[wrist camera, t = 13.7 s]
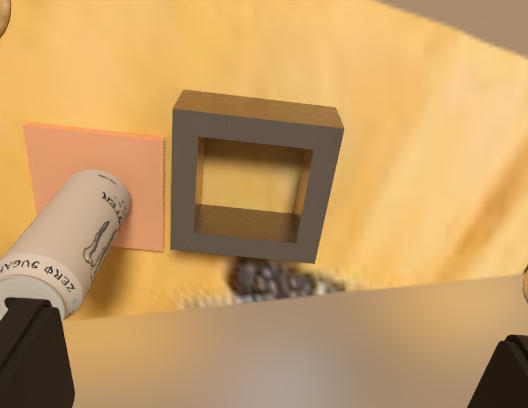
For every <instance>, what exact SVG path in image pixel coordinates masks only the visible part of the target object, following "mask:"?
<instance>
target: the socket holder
mask: <svg viewBox="0 0 528 408" xmlns="http://www.w3.org/2000/svg"><path fill="white" fill-rule="evenodd" d="M343 133H344V126H343V124H342V122H341V119H340V117H339V114H338V112H337V110H336V108H334V107H326V106H317V105H309V104H300V103H292V102H283V101H275V100H266V99H258V98H249V97H241V96H233V95H224V94H216V93H207V92H199V91H190V90H183V91H182V93H181V95H180V97H179V99H178V100H177V102H176V104H175V106H174V107H173V125H172V184H171V244H170V250H179V251H190V252H200V253H210V254H220V255H230V256H241V257H251V258H261V259H271V260H281V261H292V262H302V263H312V264H315V260H316V255H317V251H318V246H319V242H320V237H321V232H322V228H323V223H324V219H325V214H326V210H327V205H328V201H329V196H330V192H331V187H332V183H333V178H334V173H335V169H336V164H337V160H338V155H339V151H340V146H341V142H342V137H343ZM205 138H214V139H223V140H232V141H241V142H250V143H258V144H267V145H276V146H285V147H294V148H303V149H305V151H304V156H303V162H302V167H301V173H300V179H299V184H298V190H297V196H296V201H295V207H294V212H293V214H289V213H279V212H270V211H260V210H250V209H241V208H231V207H221V206H212V205H202V204H201V197H202V179H203V161H204V143H205Z"/></svg>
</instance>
